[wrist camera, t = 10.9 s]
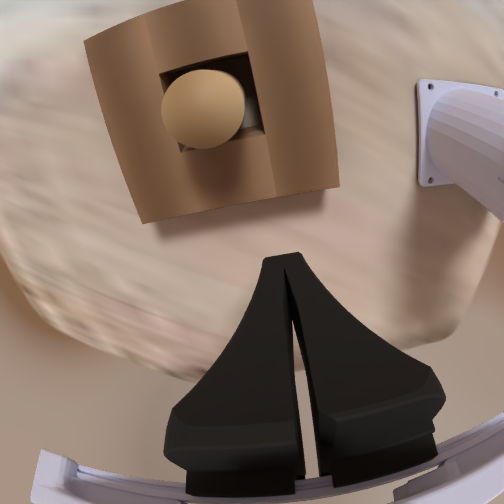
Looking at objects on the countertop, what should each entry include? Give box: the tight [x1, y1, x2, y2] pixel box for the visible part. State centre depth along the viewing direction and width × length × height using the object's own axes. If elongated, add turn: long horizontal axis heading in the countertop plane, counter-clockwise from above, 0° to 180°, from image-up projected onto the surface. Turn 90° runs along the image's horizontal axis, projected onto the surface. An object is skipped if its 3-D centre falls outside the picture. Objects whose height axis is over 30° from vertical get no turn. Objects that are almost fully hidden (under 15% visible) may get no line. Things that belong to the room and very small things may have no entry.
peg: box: [161, 70, 245, 149], centre depth 13 cm, size 3×3×7 cm
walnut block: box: [84, 0, 340, 224], centre depth 15 cm, size 12×12×3 cm
